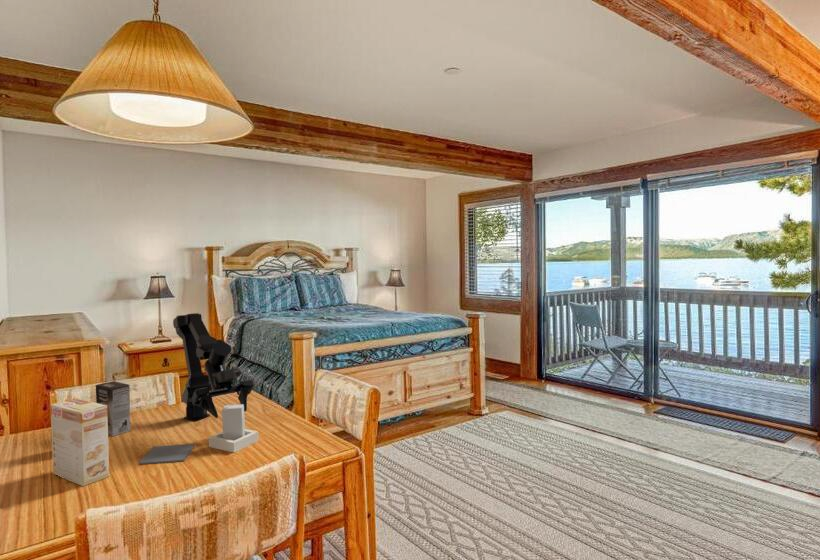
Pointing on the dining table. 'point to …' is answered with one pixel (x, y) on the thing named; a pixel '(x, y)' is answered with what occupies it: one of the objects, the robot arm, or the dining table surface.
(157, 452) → the mat
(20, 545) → the dining table surface
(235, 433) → the skincare box
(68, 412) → the coffeecake box
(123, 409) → the coffee box
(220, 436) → the white square frame
